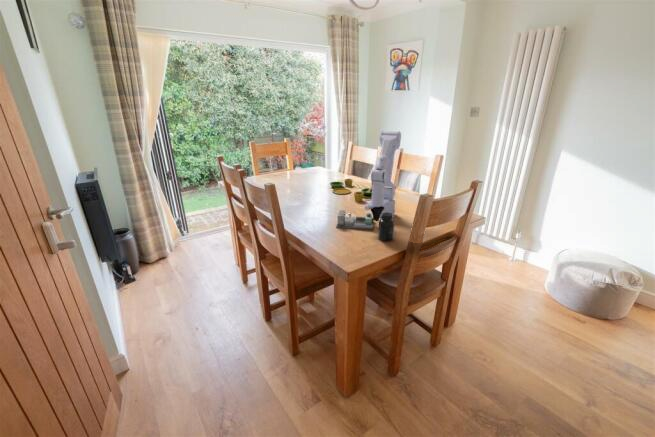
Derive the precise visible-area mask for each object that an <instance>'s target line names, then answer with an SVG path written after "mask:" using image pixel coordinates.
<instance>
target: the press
mask: <svg viewBox="0 0 655 437" xmlns="http://www.w3.org/2000/svg"><path fill="white" fill-rule="evenodd" d="M346 212H347V211H346V210H345V209H344V210H342V209H340V210H339V211H338V213H337V223H336V225H335V228H337V229H349V230H350V229H351V230H362V231H363V230H367V231H374V222H375V221H374V218H373V216H372V222H371V224H365V217H366V216H357V215H356V217H355V218H354V225H349V224H345V214H347V213H346Z"/></svg>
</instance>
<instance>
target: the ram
mask: <svg viewBox="0 0 655 437" xmlns="http://www.w3.org/2000/svg"><path fill="white" fill-rule="evenodd" d="M364 217H365V224H371V222H372V217H373V214H372V213H369V212H367V213H365V216H364Z"/></svg>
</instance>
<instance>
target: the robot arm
mask: <svg viewBox="0 0 655 437" xmlns="http://www.w3.org/2000/svg"><path fill="white" fill-rule="evenodd" d="M401 140H402V133H401V131H392V130H391V131H388V130H382V131H381V132H380V133H379V143H380V146H381V150H380V156H378V157H377V158H376V162H375V165H374V169H372V171H371V175H370V181H371V185H372V198H370V199H371V200H370V201H369V203H368V204H365V205H364V210H366V211H369V210H370V211H371V214H372V217H373V218H374V222H379V220H380V219H381V215H382V213H385V212H388V213H391V214H393V216H392V217H393V218H392V219H394V218H395V213H396V210H395V209H396V208H395V207H396V199H394V198H395V196H396V185H395V184H394V183H393V182H392V176H393V167H394V161H395V160H394V159H395V154H396V151H397V150H398V149H400V146H401Z"/></svg>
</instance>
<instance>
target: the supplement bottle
mask: <svg viewBox="0 0 655 437" xmlns="http://www.w3.org/2000/svg"><path fill="white" fill-rule="evenodd" d="M392 216H393V214H391V213H388V212H385V213H382V215H381V217H380V218H379V221H378V237H377V238H378V239H379V240H380V241H381V242H385V243H386V242H392V241H394V235H395V221H394V218H393V217H392Z"/></svg>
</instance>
